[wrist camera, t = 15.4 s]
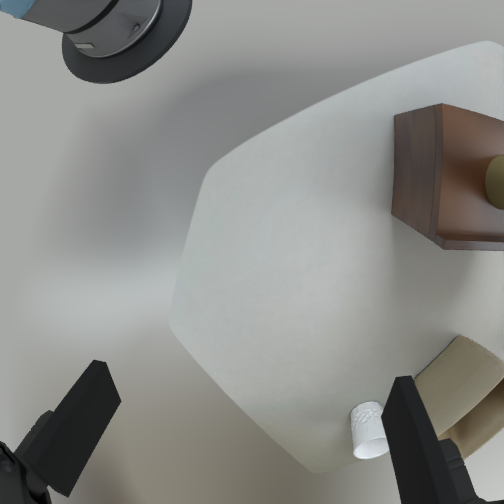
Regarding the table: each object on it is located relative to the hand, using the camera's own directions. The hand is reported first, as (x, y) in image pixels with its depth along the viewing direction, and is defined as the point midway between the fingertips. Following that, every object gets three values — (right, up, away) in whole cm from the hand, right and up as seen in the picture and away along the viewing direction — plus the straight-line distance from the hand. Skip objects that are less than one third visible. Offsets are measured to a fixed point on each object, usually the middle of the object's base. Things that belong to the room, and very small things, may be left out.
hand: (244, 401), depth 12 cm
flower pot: (+40, -17, +35) cm, 56 cm away
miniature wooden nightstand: (+29, +18, +23) cm, 41 cm away
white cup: (+24, -26, +39) cm, 53 cm away
